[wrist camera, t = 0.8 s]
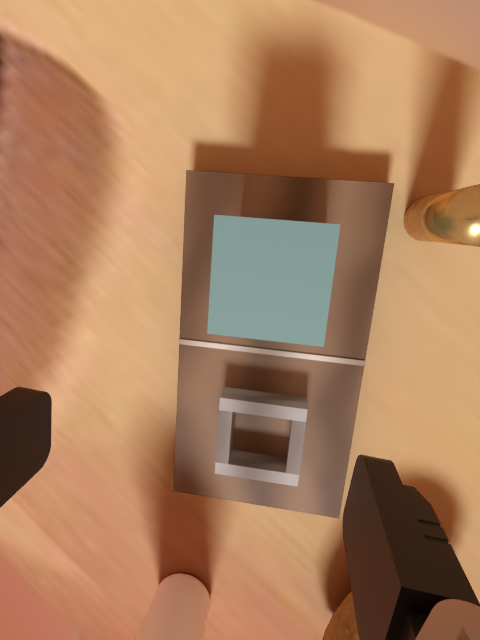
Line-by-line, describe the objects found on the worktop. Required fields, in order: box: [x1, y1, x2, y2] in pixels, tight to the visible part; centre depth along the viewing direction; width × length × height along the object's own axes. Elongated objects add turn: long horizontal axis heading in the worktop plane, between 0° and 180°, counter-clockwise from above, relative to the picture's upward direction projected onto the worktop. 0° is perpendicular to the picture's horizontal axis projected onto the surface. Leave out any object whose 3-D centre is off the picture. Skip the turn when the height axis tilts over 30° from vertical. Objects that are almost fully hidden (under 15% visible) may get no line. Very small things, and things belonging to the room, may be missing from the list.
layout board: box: [173, 170, 394, 518], centre depth 27 cm, size 14×26×8 cm, turn 176°
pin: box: [404, 184, 480, 246], centre depth 23 cm, size 3×3×9 cm
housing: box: [207, 215, 340, 347], centre depth 23 cm, size 6×6×9 cm
